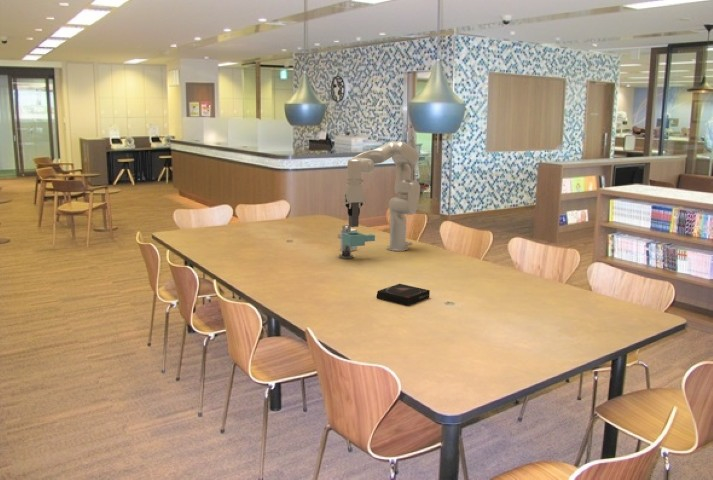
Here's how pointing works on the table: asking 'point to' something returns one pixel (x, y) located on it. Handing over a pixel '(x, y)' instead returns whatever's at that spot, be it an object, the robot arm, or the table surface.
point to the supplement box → (351, 247)
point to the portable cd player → (403, 294)
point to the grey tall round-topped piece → (345, 248)
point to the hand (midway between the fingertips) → (353, 215)
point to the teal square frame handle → (356, 239)
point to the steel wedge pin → (354, 215)
